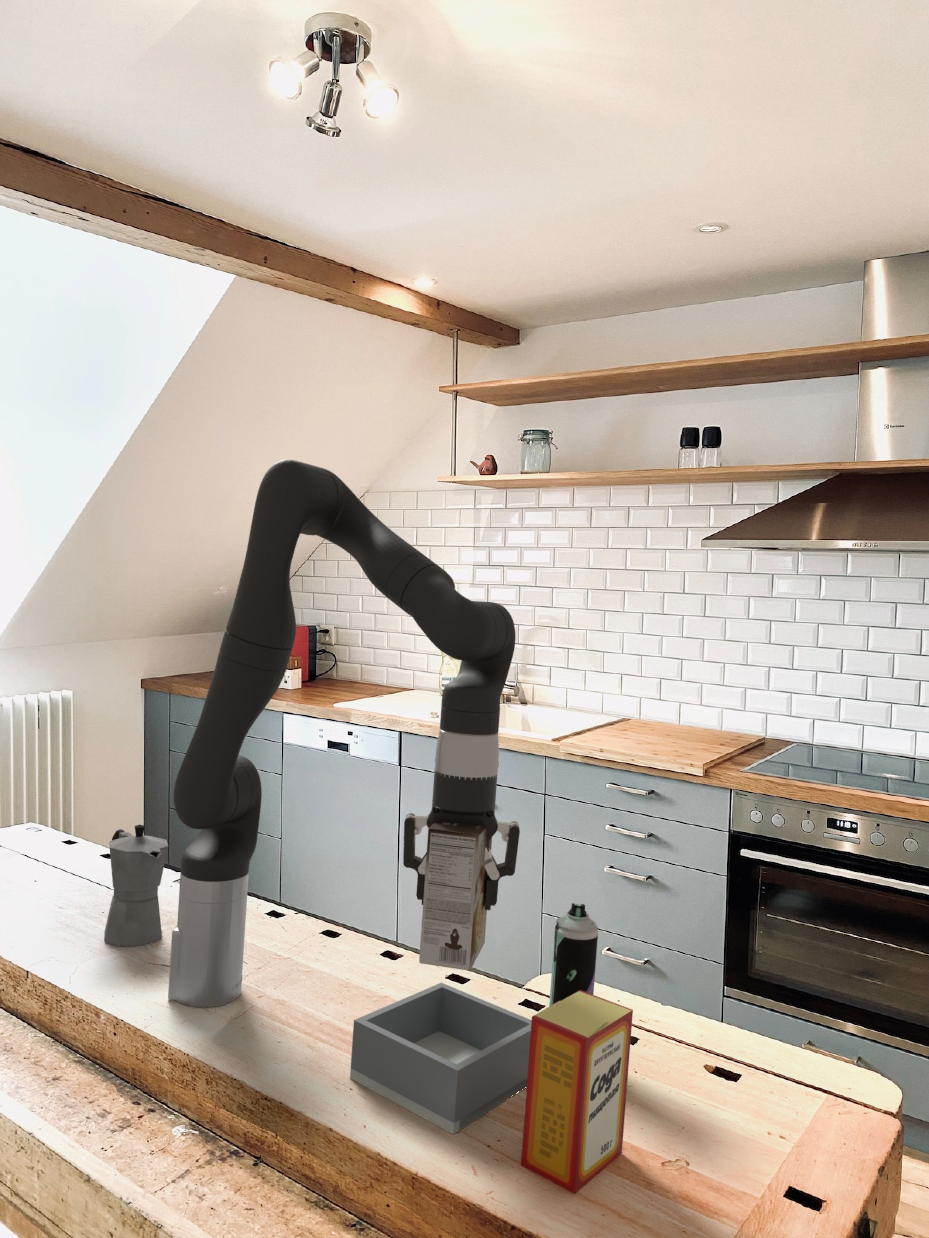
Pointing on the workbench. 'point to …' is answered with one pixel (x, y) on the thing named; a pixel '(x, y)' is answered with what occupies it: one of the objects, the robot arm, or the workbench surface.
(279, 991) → the workbench surface
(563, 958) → the spray can
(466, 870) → the coffee box
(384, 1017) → the tote
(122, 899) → the coffeepot
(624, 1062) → the baking soda box
